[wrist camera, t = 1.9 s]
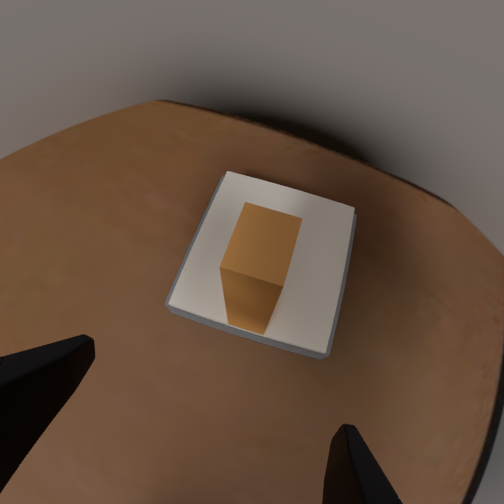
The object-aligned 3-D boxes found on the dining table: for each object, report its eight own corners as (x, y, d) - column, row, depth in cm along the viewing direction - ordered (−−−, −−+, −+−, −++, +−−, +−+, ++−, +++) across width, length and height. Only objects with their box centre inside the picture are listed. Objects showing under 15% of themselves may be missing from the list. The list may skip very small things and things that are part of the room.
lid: (323, 353, 20) (391, 317, 10) (169, 305, 21) (120, 234, 12) (352, 210, 25) (399, 121, 16) (227, 174, 26) (224, 74, 17)
